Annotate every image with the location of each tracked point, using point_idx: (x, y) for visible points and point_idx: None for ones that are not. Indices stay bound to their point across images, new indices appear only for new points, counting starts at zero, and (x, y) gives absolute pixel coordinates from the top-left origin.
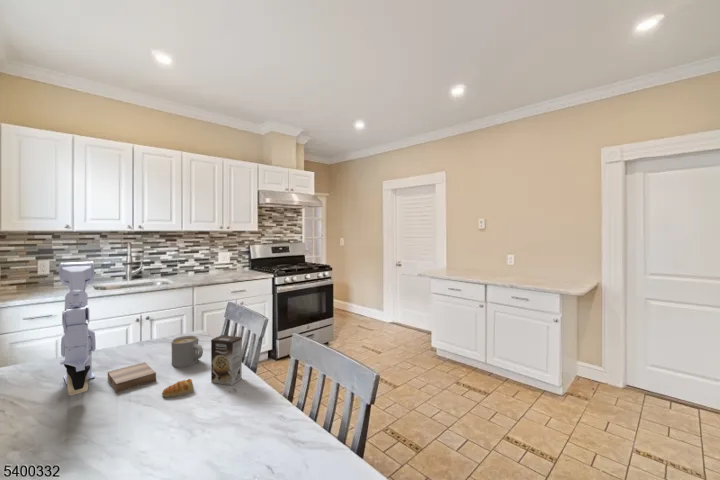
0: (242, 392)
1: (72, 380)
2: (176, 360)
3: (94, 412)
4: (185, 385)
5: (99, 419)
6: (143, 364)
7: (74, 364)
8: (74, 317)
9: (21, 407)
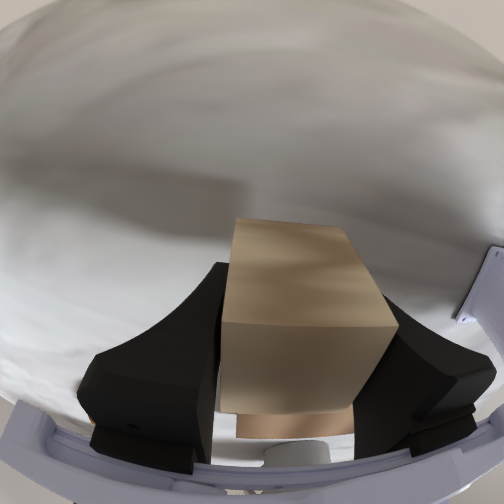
0: (61, 419)
1: (173, 311)
2: (286, 460)
3: (105, 254)
4: (91, 420)
5: (46, 252)
6: (346, 430)
7: (41, 483)
8: None
9: (447, 65)
